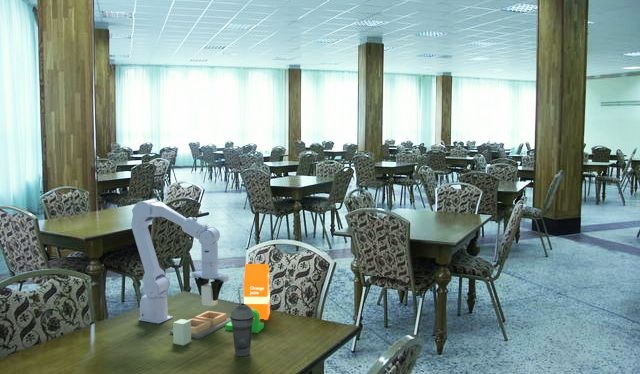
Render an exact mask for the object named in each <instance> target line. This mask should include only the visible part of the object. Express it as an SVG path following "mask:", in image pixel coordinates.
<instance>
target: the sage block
mask: <svg viewBox="0 0 640 374" xmlns="http://www.w3.org/2000/svg"><path fill="white" fill-rule="evenodd" d="M172 327H173V328H172V330H173V334H172V335H173V339H172V340H173V341H172V342H173V344H175V345H180V346H185V345H187V344H189V343H192V338H191V321H190V320H189V319H183V318H180V319H178V320H176V321H174V322H173V323H172Z"/></svg>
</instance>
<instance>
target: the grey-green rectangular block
mask: <svg viewBox="0 0 640 374" xmlns="http://www.w3.org/2000/svg"><path fill="white" fill-rule="evenodd" d="M200 293H201V294H200V295H201V306H205V307H209V308H210V307H213V306H215V305H218V303H219V302H218V300H215V301H213V291H212V286H211V283H210V282H209V283H207V284H205V285H203V286H201V291H200Z"/></svg>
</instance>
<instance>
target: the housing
mask: <svg viewBox="0 0 640 374" xmlns="http://www.w3.org/2000/svg"><path fill="white" fill-rule="evenodd" d="M188 320H190V321H191V339H192V338H193V339H199V340H200V339H202V338H204V337H205V336H209V333H210V334H212V333H213V331H214V332H215V331H217V330H219V329H221V328H223V327H225V325H226V324H227V323H229V322H231V319H230V317H227V313H226V312H225V313H224V312H218V311H212V310H207V311H204V312H203V313H199V314H198V315H196V316H194V318H190V319H188ZM211 332H212V333H211ZM169 334H171V335H173V329H172V330H170V331H169Z"/></svg>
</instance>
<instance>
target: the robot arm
mask: <svg viewBox="0 0 640 374" xmlns="http://www.w3.org/2000/svg"><path fill="white" fill-rule="evenodd" d="M131 212H132V218H131V223H130V227H131V230H132V233H133V236H134V240H135V244H136V246H137V250H138V253H139V257H140V261H141V263H142V266H143V271H144V274H143V276H142V282H143V285H142V292H143V293H144V295H142V296H141V298H140V301H139V318H138V321H141V322H146V323H147V322H148V323H152V324H161V323H163V322H166V321H168V320H171V319H173V316H172V315H169V313H168V289H170V286H171V282H170V281H171V280H170V278H169V277H168V276H167V275H166V273H165V270H164V269H162V268H161V267H160V264H159V260H158V257H157V254H156V251H155V247H154V243H153V241H152V238H151V234H150V229H149V225H150V224H151V222H152V220H153V219H154V218H160V217H162V218H164V219H166V220H169V221H170V222H172V223H174V224H176V225H178V226H180V228H181V230H182V231H183V232H184V233H186V234H188V235H190V236H191V237H193V238H195V239H196V240H198V242H199V244H200V245H201V250H200V251H201V255H200V256H201V271H193V272H191V278H192V279H195V278H196V280H195V283H196V285H197V286H198V289H199V291H200V292H201V286H203V285H205V284H207V283H209V284H211V286H212V291H213V301H215V300H218V299H219V296H220V292H221V290H222V287H223V285H224V283H226V282H229V275H228V274H223V273H221V272H220V273H219V254H218V251H219V249H218V241H219V240H220V238H221V235H220V231H219V230H218V228H216V227H214V226H209V225H208V224H204V223H203V222H201V221H199V220H198V218H197V217H192V216H191V217H187V218H186V217H185V216H184V215H182V214H180V213H179V212H178V211H176V210H174V209H173V208H171V207H170V206H168V205H166V204H165V203H164V202H162V201H159V200H158V199H156V198H149V199H147V200H141V201H138V202H137V203H135V204H134V206H133V207H132V209H131ZM210 280H212V281H210Z"/></svg>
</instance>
